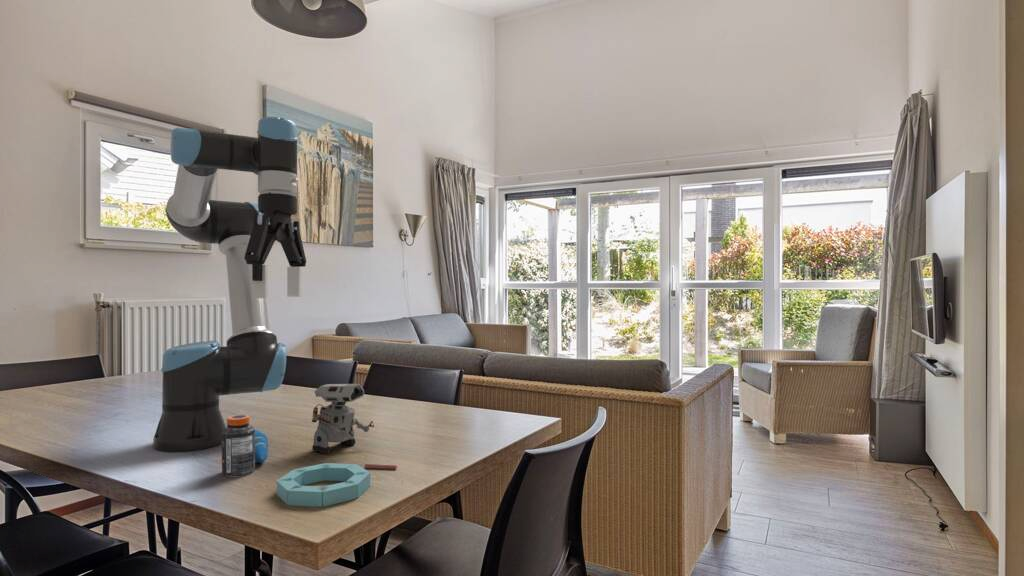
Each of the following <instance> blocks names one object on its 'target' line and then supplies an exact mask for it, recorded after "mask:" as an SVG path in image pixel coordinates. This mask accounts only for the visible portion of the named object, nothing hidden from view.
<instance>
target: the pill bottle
mask: <svg viewBox="0 0 1024 576" xmlns="http://www.w3.org/2000/svg"><path fill="white" fill-rule="evenodd" d="M255 430H256V429H255V428H254V426H253V425H250V415H249V414H235V415H230V416H228V417H227V418H226V428H225V429H224V430H223V431H222V443H221V474H222V476H223V477H226V478H238V477H239V478H240V477H246V476H248V475H251V474H252V473H254V472H255V471H256V470H255V469H256V462H255Z"/></svg>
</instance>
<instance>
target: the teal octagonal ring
mask: <svg viewBox="0 0 1024 576" xmlns="http://www.w3.org/2000/svg"><path fill="white" fill-rule="evenodd" d="M325 481H334V482H337V483H333V484H330V485H324V486H318V485H317V486H316V485H315V486H313V485H311V484H315V483H319V482H325ZM370 487H371V472H370V471H369V470H367V469H366V468H365V467H364V468H363V467H362V466H361V465H359V464H357V463H356V464H355V463H336V462H335V463H331V462H324V463H320V464H315V465H309V466H305V467H300V468H294V469H291V470H290V471H289V472H287V473H285V474H284V475H283V476H281V477H280V478H278V479H277V480H276V496H277V497H279V498H280V499H281V501H283V502H284V503H285V504H286V505H287V506H296V507H297V506H300V507H314V508H317V507H319V508H323V507H328V506H332V505H336V504H337V505H338V504H340V503H344V502H349V501H352V500H357V499H358V498H360V497H361V496H362V494H364V493H365V492H366V491H367V490H368V489H369V488H370Z"/></svg>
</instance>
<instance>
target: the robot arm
mask: <svg viewBox="0 0 1024 576" xmlns="http://www.w3.org/2000/svg"><path fill="white" fill-rule="evenodd" d="M257 125H258V126H257V131H256V133H257V137H256V136H247V135H238V134H230V133H225V132H216V131H212V130H211V131H209V130H202V129H197V128H193V127H191V128H186V127H175V128H174V129H172V130H171V134H170V135H171V137H170V159H171V162H172V163H174V164H175V165H178V167H177V172H176V178H175V183H174V190H173V194H172V195H171V196H170V197H168V200H167V202H166V205H165V206H166V207H165V214H166V218H167V221H168V222H169V223H170V225H171V226H172V228H173V229H174V230H175V231H176V232H178V233H179V234H180V235H182V236H183V237H185V238H187V239H189V240H191V241H194V242H196V243H201V244H216V245H218V250H219V252H220V253H221V254H223V255H224V256H225V259H226V260H225V261H226V272H227V284H228V285H227V287H228V295H229V296H228V297H229V307H230V321H231V331H232V335H231V336H229V337H228V339H227V340H226V346H221V344H220V343H219V341H217V340H209V341H206V340H205V341H198V342H191V343H186V344H181V345H177V346H173V347H171V348H168V349H166V350H165V351H164V353H163V355H162V362H161V364H162V365H161V369H160V371H161V373H162V387H161V388H162V391H161V392H162V393H161V394H162V395H161V396H162V397H161V398H162V399H161V401H162V402H161V405H162V406H161V407H162V409H161V416H160V418H159V421H158V423H157V427H156V429H155V430H156V431H155V434H154V435H153V439H152V440H153V443H152V444H153V446H152V448H153V449H154V450H156V451H158V452H167V453H169V452H170V453H171V452H172V453H177V452H178V453H179V452H180V453H181V452H188V451H189V452H192V451H198V450H203V449H208V448H212V447H216V446H219V445H222V431H223V430H224V429H225V428H226V427H227V425H226V423H225V421H224V418H223V415H222V412H221V409H220V397H221V396H230V395H239V394H249V393H264V392H268V391H275V390H278V388H280V387H281V385H282V384H283V381H284V378H285V374H286V373H285V372H286V367H287V348H286V345H285V344H284V343H282V342H278V338H277V334H275V333H274V332H272V331H270V324H269V316H268V315H269V313H268V305H267V299H268V295H269V294H268V293H269V291H268V289H269V288H268V279H269V278H268V264H265V263H266V261H267V259H268V256H269V254H270V252H271V251H272V248H273V246H274V244H275V242H276V241H277V242H278V243H279V244H280V245H281V247H282V250H283V252H284V254H285V257H286V260H287V261H288V262H287V263H288V264H289V265H288V266H286V267H287V269H286V273H287V274H286V275H287V277H286V279H287V280H286V281H287V284H286V286H287V287H286V288H287V289H286V292H287V295H286V296H287V297H289V298H290V297H301V295H302V294H301V293H302V292H301V290H302V288H301V287H302V285H301V284H302V282H301V281H302V278H301V277H302V275H301V274H302V272H301V271H302V269H301V267H302V268H303V267H304V268H305V267H306V265H307V257H306V254H305V253H306V252H305V250H304V245H303V241H302V240H303V239H302V237H301V232H300V223H299V220H292V216H294V215H296V214H297V213H298V198H297V196H296V194H298V182H299V178H298V140H299V137H298V130H297V128H298V127H297V124H296V122H294V121H293V120H290V119H288V118H284V117H278V116H265V117H261V118H260V119H259V120H258V123H257ZM218 170H225V171H226V170H227V171H237V172H244V173H245V172H246V173H253V174H255V175H257V191H258V192H259V193H260V194H259V195H258V196H257V203H253V202H250V201H245V202H242V201H241V202H239V201H226V200H215V199H214V200H213V199H212V200H211V199H210V198H211V195H212V191H213V187H214V184H215V181H216V177H217V174H218Z"/></svg>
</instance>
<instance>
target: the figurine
mask: <svg viewBox="0 0 1024 576" xmlns="http://www.w3.org/2000/svg"><path fill="white" fill-rule="evenodd" d="M314 394H315V396H316V397H317V398H318V397H319V398H320V397H321V398H322V399H323V400H324V401H325V402H326V403H327V402H328V403H330V404H328V405H323V404H320V403H319V404H316V406H315V407H313V409H312V410H313V411H312V417H311V418H312V419H311V422H312V423H317V421H318V425H317V429H316V431H315V433H314V435H313V445H312V447H311V448H312V451H314V453H321V454H324V455H325V454H329V452H331V450H330V446H329V443H336V444H337V443H340V445H347V446H350V447H351V446H355V444H356V438H355V431H354V426H356V428H357V429H361V430H362V431H363V432H364V433H368V432H369V431H370V428H371V427H372V428H375V426H374V421H373V420H371V422H370V423H369V424H368V425H365V424H363V423H362V422H361V421H359V420H358V418H355V411H356V410H355V408H353V407H350V406H349V405H347V402H348V403H349V402H350V403H351V402H354V401H356V400H359V399H361V398H364V397H365V389H364V388H363V387H362V385H361V384H360V383H329V384H328V383H326V384H323V385H321V386H319V387H318V388H316V390H315V391H314ZM318 406H320V410H319V407H318ZM318 413H319V414H318Z"/></svg>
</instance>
